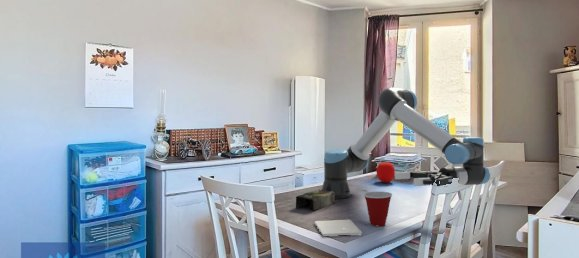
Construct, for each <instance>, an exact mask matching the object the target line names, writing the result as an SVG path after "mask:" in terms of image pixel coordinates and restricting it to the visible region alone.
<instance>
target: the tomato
mask: <svg viewBox="0 0 579 258" xmlns="http://www.w3.org/2000/svg"><path fill="white" fill-rule="evenodd" d="M395 170H396V169H395V166H394V165H393V164H392V163H391V162H389V161H381V162H380V163H378V165H377V166H376V176H377V178H378V180H379V181H380V182H381V183H390V182H392V181H393V180H394V179H395Z"/></svg>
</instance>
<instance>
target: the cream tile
mask: <svg viewBox="0 0 579 258" xmlns="http://www.w3.org/2000/svg"><path fill="white" fill-rule="evenodd" d="M314 226H315V227H316V226H317V227H316V228H317V230H318V229H319V230H318V231H319V233H320V232H321V233H320V235H321V234H322V235H323V236H329V237H339V236H338V235H351V236H360V235H359V234H362V235H363V232H362V231H361V229H359V228H358V227H357V225H356V224H355V223H353V221H352V220H351V219H337V220H336V219H335V220H334V219H333V220H315V221H314ZM322 235H321V236H322ZM323 236H322V237H323Z"/></svg>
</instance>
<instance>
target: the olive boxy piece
mask: <svg viewBox="0 0 579 258" xmlns="http://www.w3.org/2000/svg"><path fill="white" fill-rule="evenodd" d="M334 194H335V193H334V192H332V191H328V190H321V189H316V190H312V191H309V192H305V193H303V194H300V195H297V196H296V197H295V209H298V208H299V207H302V206H306V205H308V204H310V207H309V208H308V209H309V210H310V211H316V210H321V209H322V208H325V207H327V206H330V205H332V204H334V203H335V199H336V198H334Z"/></svg>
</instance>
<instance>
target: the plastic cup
mask: <svg viewBox="0 0 579 258" xmlns="http://www.w3.org/2000/svg"><path fill="white" fill-rule="evenodd" d="M362 195H363V197H364V199H365V202H366V207H367V208H366V209H367V214H368V218H369V220H368V221H369V224H370V225H371V226H375V227H383V226H385V225H386V224H387V219H388V215H389V210H390V203H391V200H392V196H393V193H392V192H389V191H369V192H368V191H367V192H365V193H363V194H362Z"/></svg>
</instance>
